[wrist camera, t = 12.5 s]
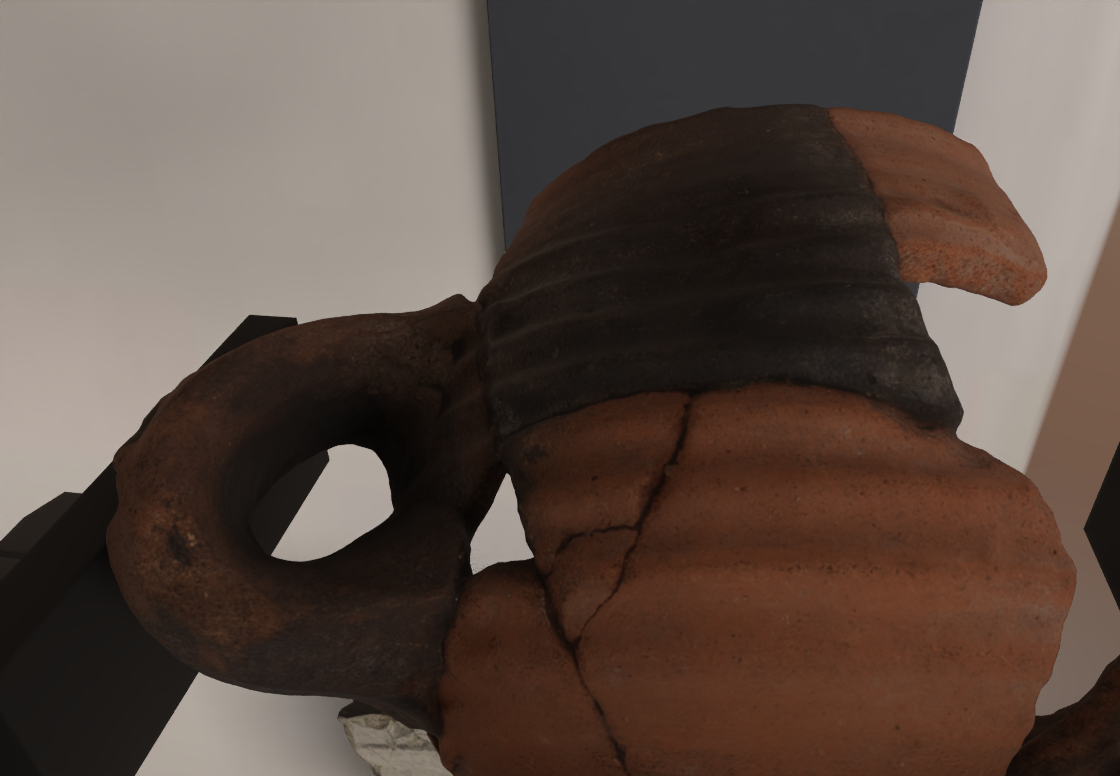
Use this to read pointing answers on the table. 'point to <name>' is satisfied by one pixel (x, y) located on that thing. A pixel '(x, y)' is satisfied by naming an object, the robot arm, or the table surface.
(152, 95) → the table surface
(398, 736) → the concrete fragment
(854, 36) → the mat
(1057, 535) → the pottery mug
